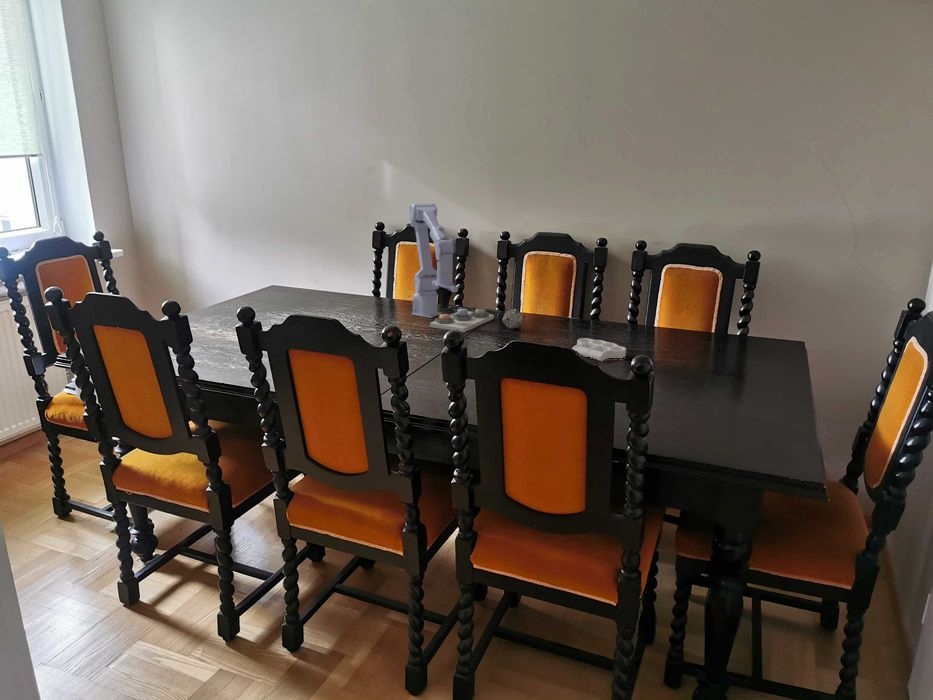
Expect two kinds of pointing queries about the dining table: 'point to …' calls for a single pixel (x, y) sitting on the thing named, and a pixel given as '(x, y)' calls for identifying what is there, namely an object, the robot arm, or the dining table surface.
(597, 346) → the grey hollowed tray
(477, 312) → the button green
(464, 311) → the button blue
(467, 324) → the button panel
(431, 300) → the robot arm
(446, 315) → the button terracotta
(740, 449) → the dining table surface
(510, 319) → the game die
